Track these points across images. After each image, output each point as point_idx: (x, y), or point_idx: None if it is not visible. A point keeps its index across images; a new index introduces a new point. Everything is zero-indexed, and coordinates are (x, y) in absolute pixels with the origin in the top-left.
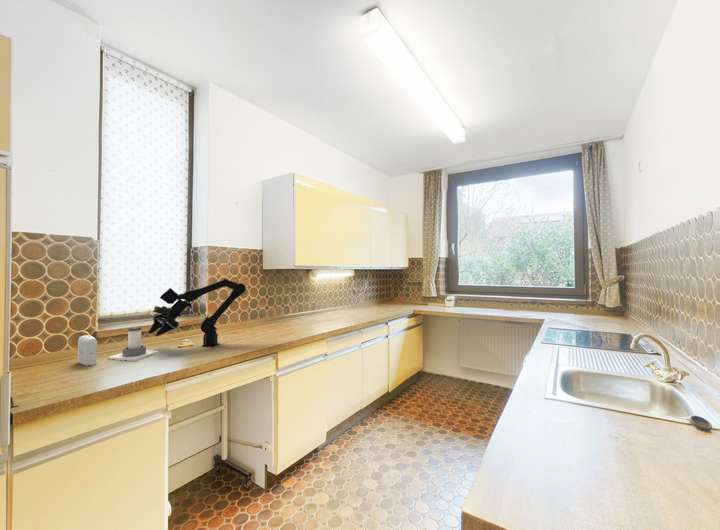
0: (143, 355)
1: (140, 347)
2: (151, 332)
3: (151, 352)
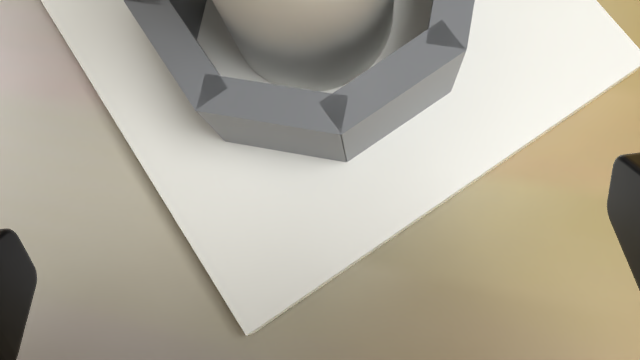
0: (125, 94)
1: (243, 36)
2: (627, 251)
3: (224, 218)
